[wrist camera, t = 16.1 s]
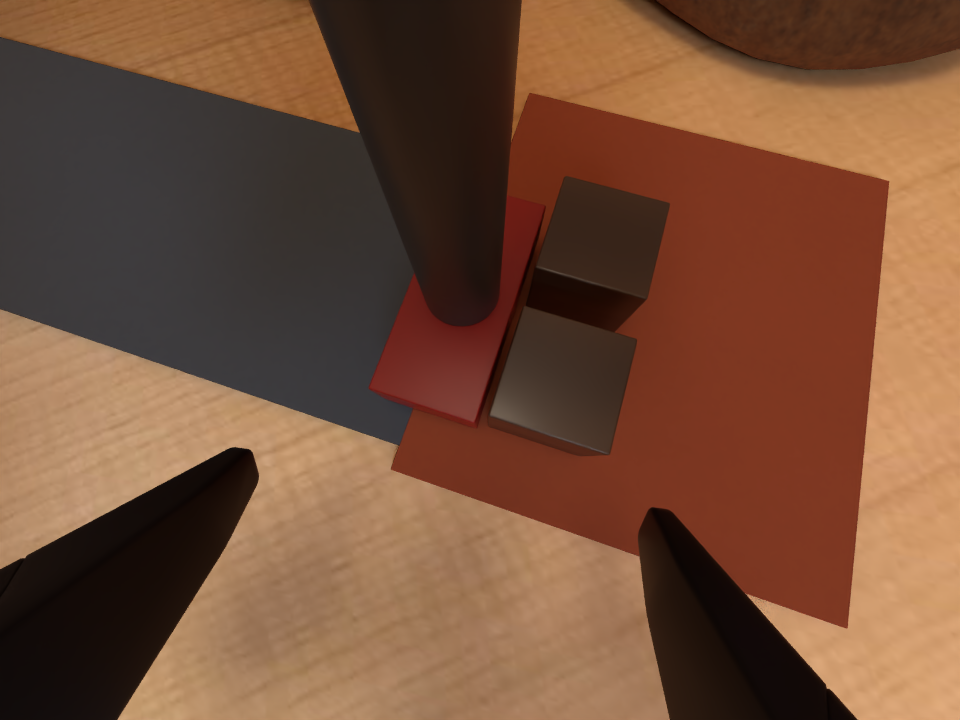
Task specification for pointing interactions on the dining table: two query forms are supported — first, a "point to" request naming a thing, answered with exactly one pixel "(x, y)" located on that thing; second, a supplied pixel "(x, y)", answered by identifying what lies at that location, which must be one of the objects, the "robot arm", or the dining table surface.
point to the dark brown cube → (598, 254)
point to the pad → (706, 360)
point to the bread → (828, 29)
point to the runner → (199, 234)
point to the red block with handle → (441, 183)
